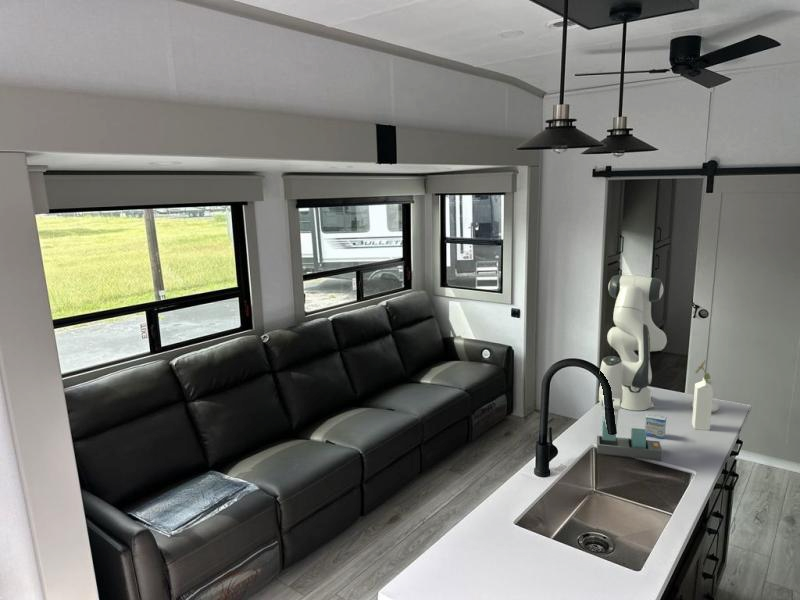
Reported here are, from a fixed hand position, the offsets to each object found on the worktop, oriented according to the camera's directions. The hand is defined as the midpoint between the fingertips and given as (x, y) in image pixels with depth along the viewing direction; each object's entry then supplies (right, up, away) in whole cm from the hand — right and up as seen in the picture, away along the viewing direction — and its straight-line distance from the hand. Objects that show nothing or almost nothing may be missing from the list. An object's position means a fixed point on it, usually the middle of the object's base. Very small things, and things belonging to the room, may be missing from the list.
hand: (609, 429), depth 226 cm
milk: (+47, -4, +19) cm, 51 cm away
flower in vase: (+58, +1, +36) cm, 68 cm away
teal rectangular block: (0, -4, +1) cm, 4 cm away
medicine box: (+24, -6, +13) cm, 28 cm away
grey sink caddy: (+8, -9, 0) cm, 12 cm away
